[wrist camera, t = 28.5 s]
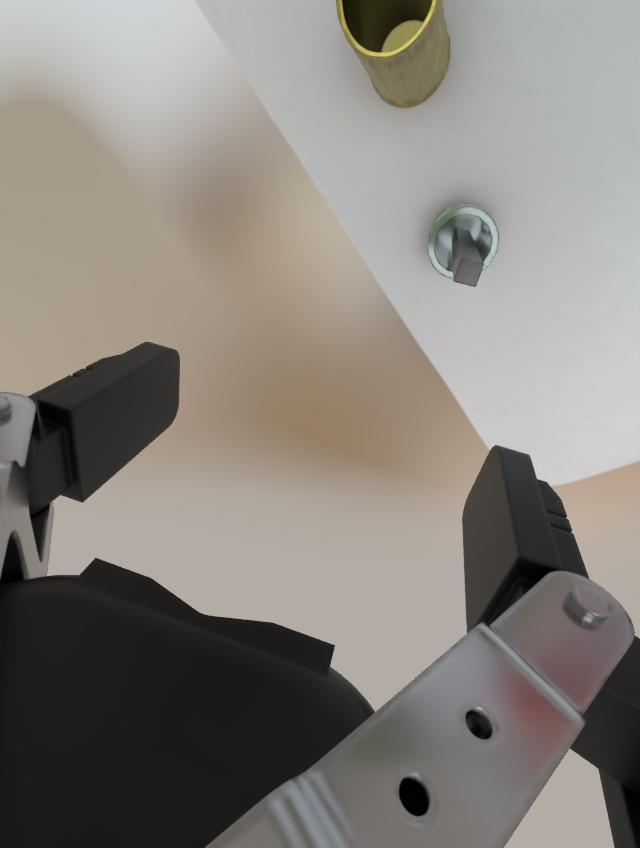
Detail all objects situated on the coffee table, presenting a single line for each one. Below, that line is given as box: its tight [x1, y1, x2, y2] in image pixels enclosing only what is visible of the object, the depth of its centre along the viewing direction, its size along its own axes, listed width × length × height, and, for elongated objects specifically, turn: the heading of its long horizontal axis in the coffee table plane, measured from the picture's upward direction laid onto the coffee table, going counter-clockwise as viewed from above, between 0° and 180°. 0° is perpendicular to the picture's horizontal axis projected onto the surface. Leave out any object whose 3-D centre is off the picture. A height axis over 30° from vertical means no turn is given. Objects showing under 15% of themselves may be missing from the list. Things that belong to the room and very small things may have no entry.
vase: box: [336, 0, 450, 107], centre depth 28 cm, size 6×6×14 cm
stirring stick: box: [452, 228, 484, 287], centre depth 31 cm, size 1×1×18 cm
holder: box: [428, 203, 499, 278], centre depth 36 cm, size 5×5×7 cm
